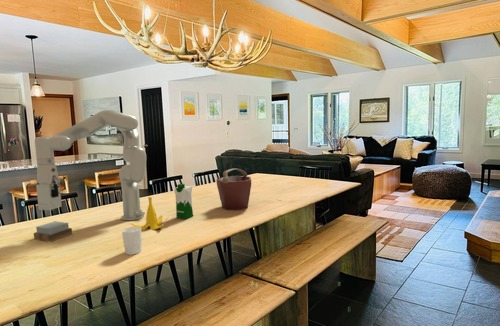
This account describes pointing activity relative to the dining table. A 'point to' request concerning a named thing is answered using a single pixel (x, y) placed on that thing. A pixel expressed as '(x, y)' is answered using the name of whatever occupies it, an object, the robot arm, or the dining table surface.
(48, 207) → the supplement box
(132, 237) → the white cup
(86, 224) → the dining table surface
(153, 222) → the banana peel
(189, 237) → the dining table surface
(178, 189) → the milk carton
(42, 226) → the tower top
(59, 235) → the tower base
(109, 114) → the robot arm
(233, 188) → the bucket
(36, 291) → the dining table surface
